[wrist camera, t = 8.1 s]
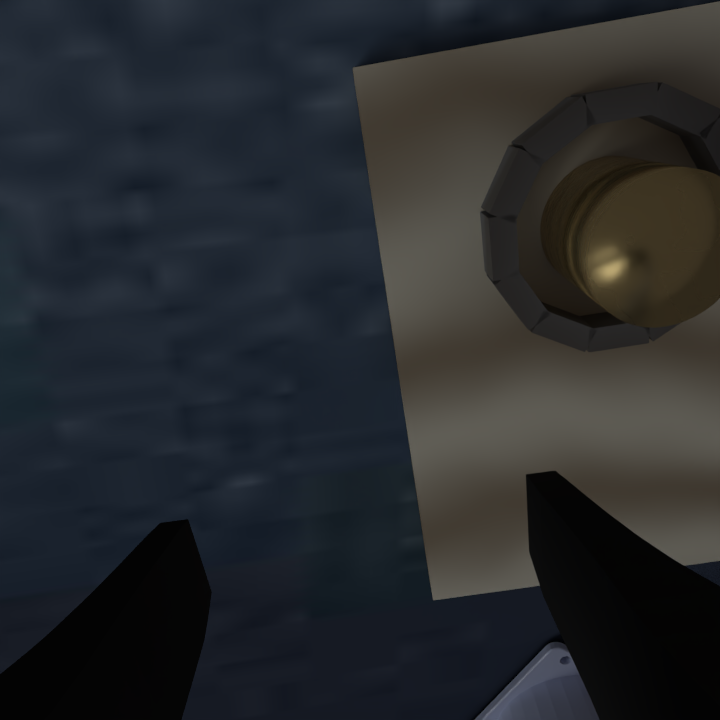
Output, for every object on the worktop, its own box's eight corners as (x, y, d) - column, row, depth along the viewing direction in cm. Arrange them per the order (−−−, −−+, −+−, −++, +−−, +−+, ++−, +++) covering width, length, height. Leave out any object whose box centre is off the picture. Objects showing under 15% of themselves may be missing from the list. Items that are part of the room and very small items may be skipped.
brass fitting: (672, 144, 17) (758, 154, 14) (666, 274, 19) (742, 314, 15) (537, 167, 18) (586, 183, 14) (542, 294, 19) (588, 338, 16)
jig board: (762, 536, 25) (799, 574, 23) (429, 582, 25) (437, 623, 23) (836, -18, 17) (904, -35, 15) (352, 69, 17) (353, 64, 15)
